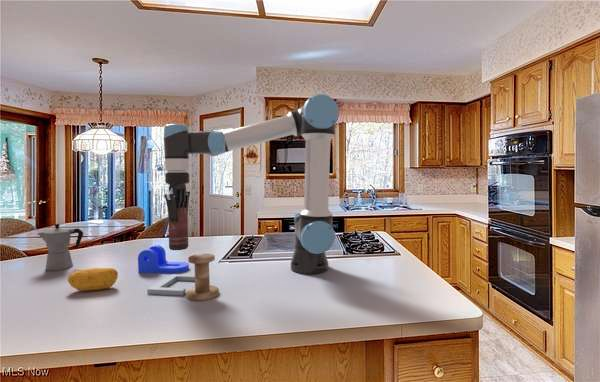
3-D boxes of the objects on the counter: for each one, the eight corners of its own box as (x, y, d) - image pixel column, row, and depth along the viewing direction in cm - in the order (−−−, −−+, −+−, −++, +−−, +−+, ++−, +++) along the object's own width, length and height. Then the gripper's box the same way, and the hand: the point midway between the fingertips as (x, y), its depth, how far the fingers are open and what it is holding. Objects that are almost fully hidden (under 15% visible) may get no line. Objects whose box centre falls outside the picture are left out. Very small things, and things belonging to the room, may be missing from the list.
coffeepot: (35, 272, 127) (32, 227, 126) (43, 266, 135) (41, 223, 134) (82, 267, 133) (80, 224, 132) (87, 261, 141) (85, 220, 140)
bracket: (138, 272, 127) (137, 250, 126) (149, 266, 135) (149, 245, 134) (183, 273, 125) (182, 250, 125) (192, 267, 134) (191, 245, 133)
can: (182, 251, 107) (181, 208, 106) (165, 250, 108) (164, 208, 107) (192, 246, 113) (191, 206, 112) (175, 245, 114) (174, 206, 113)
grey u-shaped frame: (202, 279, 118) (202, 275, 118) (182, 295, 103) (182, 290, 103) (171, 278, 120) (171, 274, 120) (147, 293, 105) (147, 289, 105)
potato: (77, 286, 112) (75, 266, 111) (121, 284, 114) (121, 264, 113) (65, 295, 105) (63, 273, 104) (113, 292, 107) (112, 271, 106)
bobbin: (223, 289, 108) (222, 253, 107) (211, 301, 98) (210, 261, 98) (194, 288, 110) (193, 252, 109) (180, 300, 100) (178, 260, 99)
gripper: (176, 171, 116) (178, 237, 117) (155, 172, 103) (158, 246, 104) (196, 171, 115) (198, 237, 116) (177, 172, 102) (180, 246, 103)
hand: (179, 241), depth 110 cm, fingers closed
